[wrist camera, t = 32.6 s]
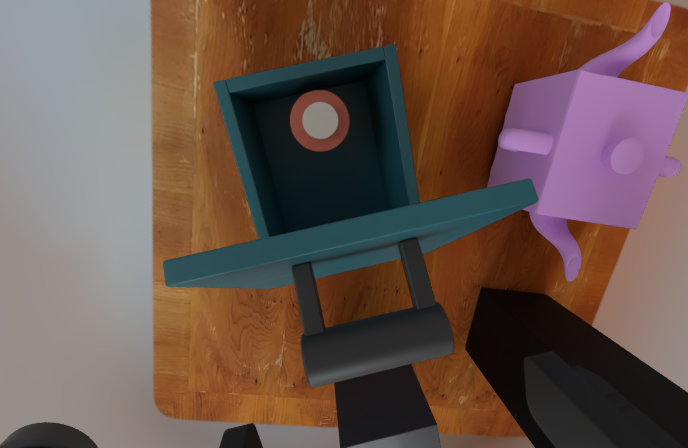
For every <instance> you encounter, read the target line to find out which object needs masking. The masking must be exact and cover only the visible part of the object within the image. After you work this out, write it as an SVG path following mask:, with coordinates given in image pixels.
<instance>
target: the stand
mask: <svg viewBox="0 0 688 448" xmlns="http://www.w3.org/2000/svg"><path fill="white" fill-rule="evenodd" d="M334 385H335V396H336V407H337V418H338V429H339V439H340V448H441V446H440V439H439V434H438V428H437V423H436V421H435V419H434V416H433V414H432V412H431V409H430V407H429V405H428V402H427V400H426V398H425V395H424V393H423V391H422V389H421V386H420V384H419V382H418V379H417V377H416V375H415V372H414V370H413V368H412V365H411V364H408V365H404V366H400V367H396V368H392V369H388V370H384V371H380V372H376V373H371V374H367V375H363V376H359V377H355V378H351V379H347V380H343V381H338V382H334Z"/></svg>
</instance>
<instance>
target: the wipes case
mask: <svg viewBox="0 0 688 448" xmlns="http://www.w3.org/2000/svg"><path fill="white" fill-rule="evenodd" d="M213 84H214V88H215V91H216V94H217V98H218V101H219V105H220V108H221V112H222V115H223V118H224V122H225V125H226V129H227V132H228V136H229V139H230V142H231V146H232V149H233V153H234V156H235V159H236V163H237V166H238V170H239V173H240V177H241V180H242V183H243V187H244V190H245V194H246V197H247V201H248V204H249V207H250V211H251V214H252V218H253V221H254V224H255V228H256V231H257V235H258V238H259V239H263V238H267V237H272V236H276V235H280V234H285V233H289V232H294V231H298V230H302V229H307V228H311V227H316V226H320V225H324V224H329V223H333V222H338V221H342V220H347V219H351V218H355V217H360V216H364V215H369V214H373V213H377V212H382V211H386V210H391V209H395V208H399V207H404V206H408V205H413V204H417V203H420V202H419V196H418V189H417V182H416V176H415V169H414V163H413V156H412V149H411V143H410V136H409V130H408V123H407V116H406V110H405V103H404V97H403V90H402V83H401V77H400V70H399V64H398V57H397V51H396V45H395V44H392V45H388V46H384V47H378V48H373V49H368V50H363V51H359V52H354V53H349V54H344V55H340V56H335V57H330V58H325V59H321V60H316V61H311V62H306V63H302V64H297V65H292V66H287V67H283V68H278V69H273V70H268V71H264V72H259V73H254V74H249V75H245V76H240V77H235V78H230V79H226V80H221V81H217V82H214V83H213ZM313 90H326V91H329V92H332V93H333V94H335V95H337V96H338V97H339V98H340V99H341V100H342V101H343V102H344V104H345V106H346V108H347V110H348V113H349V120H350V123H349V130H348V133H347V135H346V137H345V139H344V140H343V141H342V142H341V143H340V144H339V145H338V146H337V147H335V148H334V149H332V150H329V151H324V152H316V151H312V150H309V149H307V148H305V147H304V146H302V145H301V144H300V143H299V142H298V141H297V140H296V138H295V137H294V135H293V133H292V130H291V126H290V114H291V110H292V108H293V105H294V104H295V102H296V101H297V100H298V99H299V98H300V97H301V96H302V95H303V94H305V93H307V92H309V91H313Z"/></svg>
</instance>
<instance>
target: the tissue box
mask: <svg viewBox="0 0 688 448" xmlns="http://www.w3.org/2000/svg"><path fill="white" fill-rule="evenodd" d="M466 351H467V352H468V354H469V355H470V357H471V358H472V359H473V361H474V362H475V364H476V365H477V366H478V368H479V369H480V371H481V372H482V374H483V375H484V376H485V378H486V379H487V381H488V382H489V383H490V385H491V386H492V388H493V389H494V390H495V392H496V393H497V395H498V396H499V398H500V399H501V400H502V402H503V403H504V405H505V406H506V407H507V409H508V410H509V412H510V413H511V415H512V416H513V417H514V419H515V420H516V422H517V423H518V424H519V426H520V427H521V429H522V430H523V431H524V433H525V434H526V436H527V437H528V439H529V440H530V441H531V443H532V444H533V445H534V447H535V448H556V447H555V446H554V445H553V444H552V442H551V441H550V440H549V438H548V437H547V436H546V435H545V433H544V432H543V431H542V429H541V428H540V427H539V426H538V424H537V423H536V421H535V420H534V418H533V416H532V414H531V412H530V410H529V407H528V404H527V400H526V388H525V375H524V358H525V357H529V356H533V355H537V354H541V353H545V352H549V351H552V352H554V353H556V354H557V355H558V356H559V357H560V358H561V359H562V360H564V361H565V362H566V363H567V364H568V365H569V366H570V367H573V366H577V365H579V366H581V367H583V368H585V369H587V370H589V371H591V372H593V373H595V374H597V375H599V376H600V377H602V378H603V379H604V380H605V381H606V382H607V383H609V384H610V385H611V386H612V387H613V388H615V389H616V390H617V391H618V393H619V394H622V395H623V396H624V397H625V398H626V399H628V400H629V401H630V402H631V403H632V404H633V406H634V407H637V408H638V409H639V410H641V411H642V412H643V413H644V414H645V415H647V416H648V417H649V418H650V419H651V420H652V421H654V422H655V423H656V424H657V425H658V426H660V427H661V428H662V429H663V430H664V431H665V432H667V433H668V434H669V435H670V436H671V437H673V438H674V439H675V440H676V441H677V442H678V443H680V444H681V445H682V446H683V447H684V448H688V392H686V391H685V390H683V389H682V388H680V387H679V386H677V385H676V384H674V383H673V382H671V381H670V380H669V379H667V378H666V377H664V376H663V375H662V374H660V373H659V372H657V371H656V370H654V369H653V368H651V367H650V366H649V365H647V364H645V363H644V362H643V361H641V360H640V359H638V358H637V357H636V356H634V355H633V354H631V353H630V352H628V351H627V350H625V349H624V348H622V347H621V346H619V345H618V344H617V343H615V342H614V341H612V340H611V339H610V338H608V337H607V336H605V335H603V334H602V333H601V332H599V331H598V330H597V329H595V328H594V327H592V326H591V325H589V324H588V323H586V322H585V321H584V320H582V319H581V318H579V317H578V316H576V315H575V314H573V313H572V312H571V311H569V310H568V309H566V308H565V307H563V306H562V305H560V304H559V303H558V302H556V301H555V300H553V299H552V298H550V297H549V296H547V295H545V294H535V293H526V292H516V291H506V290H497V289H487V288H482V289H481V292H480V295H479V299H478V303H477V307H476V310H475V314H474V318H473V322H472V325H471V329H470V333H469V337H468V339H467V345H466Z"/></svg>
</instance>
